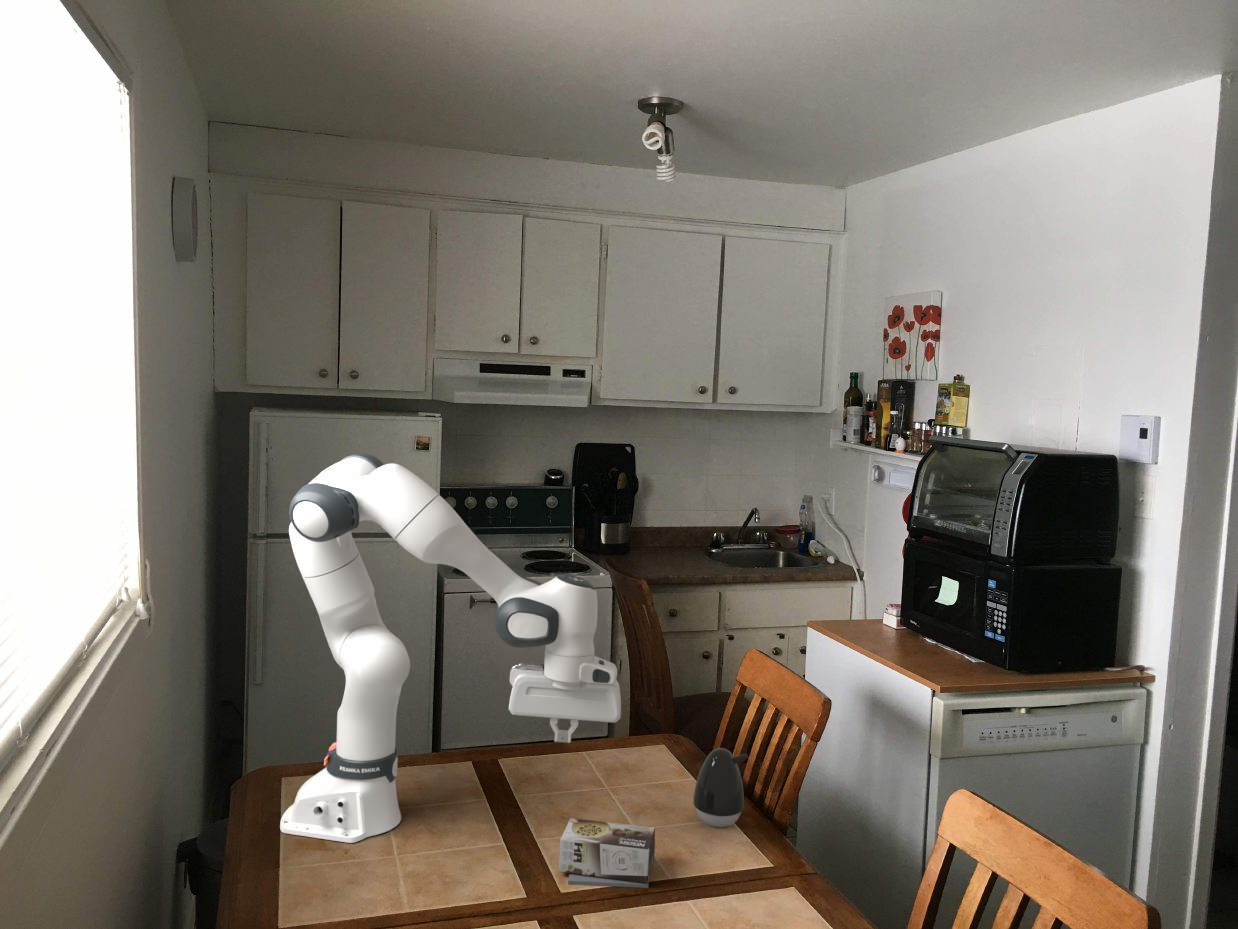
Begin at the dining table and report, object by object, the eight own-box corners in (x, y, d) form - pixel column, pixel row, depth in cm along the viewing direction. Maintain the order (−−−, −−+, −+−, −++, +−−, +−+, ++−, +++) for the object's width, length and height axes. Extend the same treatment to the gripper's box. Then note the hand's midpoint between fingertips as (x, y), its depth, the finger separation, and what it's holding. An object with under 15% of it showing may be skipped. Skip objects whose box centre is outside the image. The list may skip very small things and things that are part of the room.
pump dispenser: (746, 834, 189) (751, 760, 188) (694, 832, 189) (698, 757, 187) (740, 811, 199) (744, 741, 198) (690, 809, 199) (694, 738, 198)
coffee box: (558, 873, 169) (648, 885, 166) (559, 838, 169) (650, 849, 166) (569, 850, 178) (654, 860, 175) (570, 816, 178) (656, 826, 175)
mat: (568, 884, 167) (568, 880, 167) (572, 845, 181) (572, 842, 181) (648, 888, 167) (648, 884, 167) (645, 849, 181) (646, 846, 181)
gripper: (509, 666, 168) (503, 743, 169) (624, 675, 168) (618, 752, 169) (512, 657, 174) (506, 731, 175) (624, 665, 175) (617, 739, 176)
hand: (562, 741), depth 172 cm, fingers closed
